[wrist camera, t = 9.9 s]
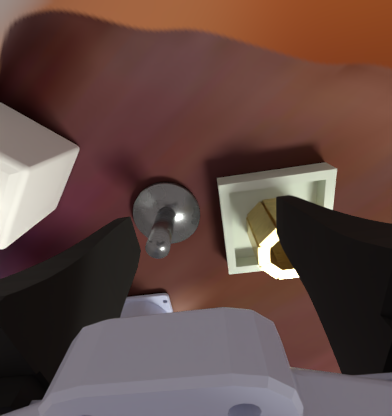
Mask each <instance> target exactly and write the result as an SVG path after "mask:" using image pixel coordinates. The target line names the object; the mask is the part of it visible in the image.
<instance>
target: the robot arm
mask: <svg viewBox="0 0 392 416" xmlns="http://www.w3.org/2000/svg"><path fill="white" fill-rule="evenodd" d="M276 233H277V236H278V239H279V241H280V244H281V246H282V249H283V251H284V252H285V254H286V256H287V258H288V259H289V261H290V263H291V264H292V266H293V268H294V269H295V271H296V273H297V274H298V276H299V278H300V280H301V281H302V283H303V285H304V286H305V288H306V290H307V292H308V294H309V296H310V298H311V300H312V303H313V305H314V307H315V309H316V311H317V314H318V316H319V318H320V321H321V323H322V325H323V328H324V330H325V332H326V335H327V337H328V340H329V342H330V345H331V347H332V350H333V352H334V355H335V357H336V360H337V362H338V365H339V367H340V370H341V373H342V374H338V373H331V372H324V371H316V370H309V369H302V368H294V367H290V365H289V362H288V359H287V356H286V354H285V351H284V348H283V345H282V342H281V339H280V336H279V334H278V332H277V330H276V327H275V325H274V323H273V322H272V321H270V320H269V319H267V318H265V317H263V316H262V315H260V314H258V313H256V312H255V311H253V310H250V309H240V308H228V307H220V308H211V309H201V310H191V311H182V312H173V309H172V306H171V302H170V298H169V295H168V294H167V293H158V294H149V295H140V296H131V297H127V295H128V292H129V290H130V287H131V284H132V281H133V279H134V276H135V273H136V270H137V267H138V262H139V257H140V252H141V250H140V246H139V243H138V240H137V237H136V233H135V230H134V227H133V224H132V221H131V217H124V218H118V219H116V220H114V221H112V222H110V223H109V224H107V225H106V226H104V227H102V228H101V229H99V230H98V231H96V232H95V233H93V234H92V235H90V236H89V237H87V238H85V239H84V240H82V241H80V242H79V243H77V244H76V245H74V246H72V247H71V248H69V249H67V250H65V251H64V252H62V253H60V254H58V255H56V256H54V257H52V258H50V259H48V260H46V261H44V262H42V263H39V264H37V265H35V266H32V267H30V268H28V269H25V270H23V271H21V272H18V273H16V274H13V275H10V276H8V277H5V278H2V279H0V416H392V224H389V223H383V222H378V221H373V220H368V219H364V218H359V217H355V216H351V215H348V214H344V213H341V212H338V211H334V210H331V209H328V208H325V207H323V206H320V205H317V204H314V203H312V202H309V201H306V200H304V199H301V198H298V197H295V196H292V195H286V196H278V197H276Z"/></svg>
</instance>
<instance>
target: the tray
mask: <svg viewBox="0 0 392 416" xmlns="http://www.w3.org/2000/svg"><path fill="white" fill-rule="evenodd" d="M336 174H337V168H335V167H333V166H331V165H329V164H327V163H325V162H324V163H317V164H310V165H303V166H296V167H289V168H283V169H276V170H269V171H262V172H255V173H248V174H241V175H234V176H227V177H221V178H217V185H218V193H219V201H220V209H221V217H222V225H223V233H224V241H225V250H226V258H227V265H228V271H229V274H237V273H246V272H255V271H263V270H262V269H260V267H259V266H258V263H257V260H256V257H255V254H254V251H253V249H252V246H251V243H250V240H249V237H248V234H247V225H246V217H247V214H248V213H249V212H250V211H251V210H252V209H253V208H254V207H255V206H256V205H257V203H258V202H259V201H260V202H262V200H264V199H271V198H276V197H278V196H286V195H292V196H295V197H298V198H301V199H304V200H306V201H309V202H312V203H314V204H317V205H320V206H323V207H325V208H328V209H331V210H333V203H334V193H335V184H336Z"/></svg>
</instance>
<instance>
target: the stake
mask: <svg viewBox="0 0 392 416" xmlns="http://www.w3.org/2000/svg"><path fill="white" fill-rule="evenodd" d="M133 217H134V221H135V224H136V226H137V227H138V229H139V230H140V231H141V232H142V233H143V234H144V235H145V236H146V237H148V241H147V243H146V247H145V248H146V252H147V253H148V254H149V255H150V256H151V257H153V258H163V257H165V256H167V255H168V253H169V250H170V245H171V243H177V242H181V241H183V240H185V239H187V238H188V237H190V236H191V235H192V234H193V233H194V231H195V230H196V228H197V226H198V224H199V220H200V208H199V204H198V202H197V200H196V198H195V196H194V195H193V194H192V193H191V192H190V191H189V190H188V189H187V188H185V187H183V186H181V185H179V184H176V183H172V182H158V183H154V184H152V185H150V186H148V187H146V188H145V189H144V190H143V191H142V192H141V193H140V194H139V195H138V197H137V199H136V201H135V203H134V207H133Z"/></svg>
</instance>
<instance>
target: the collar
mask: <svg viewBox="0 0 392 416" xmlns="http://www.w3.org/2000/svg"><path fill="white" fill-rule="evenodd" d="M246 225H247V234H248V237H249V240H250V243H251V246H252V249H253V251H254V254H255V257H256V260H257V263H258V266H259V267H260V269H262V270H263V271H265V272H266V273H268V274H270V275H271V276H273V277H274V278H276V279H277V278H279V279H287V278H296V277H299V276H298V274H297V273H296V271H295V269H294V268H293V266H292V264H291V263H290V261H289V259H288V258H287V256H286V254H285V252H284V251H283V249H282V246H281V244H280V241H279V239H278V236H277V233H276V198H271V199H264V200H262V202H260V201H259V202H258V203H257V205H256V206H255V207H254V208H253V209H252V210H251V211H250V212H249V213H248V214H247V217H246Z"/></svg>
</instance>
